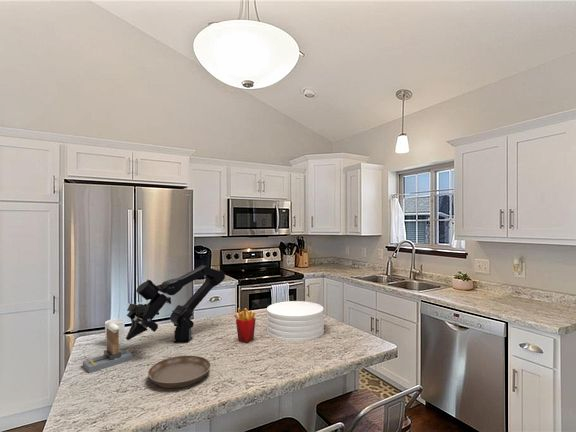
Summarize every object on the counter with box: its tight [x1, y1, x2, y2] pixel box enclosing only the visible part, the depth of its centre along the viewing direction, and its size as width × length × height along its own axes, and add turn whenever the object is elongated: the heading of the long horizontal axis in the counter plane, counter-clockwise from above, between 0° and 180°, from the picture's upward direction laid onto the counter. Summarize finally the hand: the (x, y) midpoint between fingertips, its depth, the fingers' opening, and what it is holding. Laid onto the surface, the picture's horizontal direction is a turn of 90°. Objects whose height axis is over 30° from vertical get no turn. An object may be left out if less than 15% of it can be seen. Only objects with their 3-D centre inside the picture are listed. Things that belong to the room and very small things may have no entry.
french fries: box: [233, 307, 257, 344], centre depth 143 cm, size 9×8×15 cm
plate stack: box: [266, 300, 325, 342], centre depth 157 cm, size 28×28×12 cm
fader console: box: [82, 349, 134, 374], centre depth 122 cm, size 15×8×2 cm, turn 137°
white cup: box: [104, 318, 126, 346], centre depth 143 cm, size 8×8×10 cm
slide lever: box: [103, 322, 121, 360], centre depth 123 cm, size 4×7×12 cm, turn 47°
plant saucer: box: [147, 355, 212, 389], centre depth 110 cm, size 21×21×3 cm
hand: (126, 339), depth 127 cm, fingers closed
